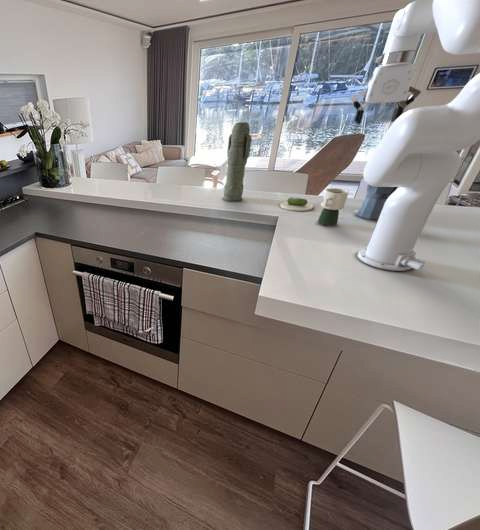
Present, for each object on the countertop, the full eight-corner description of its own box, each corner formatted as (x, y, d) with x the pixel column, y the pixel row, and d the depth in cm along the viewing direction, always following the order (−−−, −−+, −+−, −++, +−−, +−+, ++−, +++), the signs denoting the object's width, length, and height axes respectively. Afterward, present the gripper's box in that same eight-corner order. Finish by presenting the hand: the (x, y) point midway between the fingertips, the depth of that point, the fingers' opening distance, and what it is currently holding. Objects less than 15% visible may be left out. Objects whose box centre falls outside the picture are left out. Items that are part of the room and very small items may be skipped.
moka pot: (371, 210, 119) (390, 160, 110) (399, 223, 106) (423, 168, 96) (347, 211, 121) (363, 161, 111) (371, 224, 107) (392, 169, 98)
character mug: (325, 218, 116) (334, 186, 109) (344, 223, 110) (355, 189, 104) (309, 224, 111) (318, 191, 105) (328, 230, 106) (339, 195, 100)
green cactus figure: (236, 203, 139) (247, 123, 122) (217, 198, 148) (224, 123, 131) (248, 199, 143) (259, 121, 126) (228, 195, 152) (236, 122, 135)
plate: (320, 208, 126) (320, 206, 125) (295, 213, 123) (296, 211, 123) (296, 200, 137) (296, 198, 136) (273, 204, 134) (273, 203, 134)
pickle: (307, 205, 128) (309, 198, 126) (305, 207, 126) (307, 200, 125) (287, 202, 133) (289, 196, 131) (285, 204, 131) (287, 197, 130)
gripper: (364, 62, 87) (346, 125, 95) (440, 54, 80) (413, 122, 89) (357, 64, 92) (341, 123, 101) (427, 57, 86) (404, 120, 95)
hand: (375, 122), depth 95 cm, fingers open, 9 cm apart
